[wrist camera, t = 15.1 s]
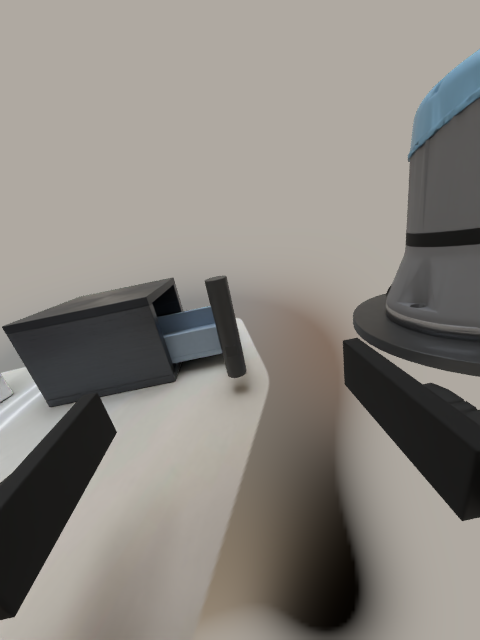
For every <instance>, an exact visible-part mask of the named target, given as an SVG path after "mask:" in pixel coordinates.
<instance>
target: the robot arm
mask: <svg viewBox="0 0 480 640" xmlns="http://www.w3.org/2000/svg"><path fill="white" fill-rule="evenodd" d="M408 162H410V174H409V194H408V214H407V230H406V248H405V254H404V257H403V259H402V262H401V264H400V266H399V269H398V271H397V274H396V276H395V278H394V281H393V283H392V285H391V286H390V287H389V289H388V291H387V293H386V296H387V300H386V315H387V317H388V318H389V319H390V320H391V321H393V322H394V323H396V324H398V325H400V326H402V327H405V328H407V329H410V330H413V331H416V332H420V333H424V334H428V335H432V336H437V337H443V338H449V339H456V340H465V341H475V342H480V49H479V50H478V51H476V52H475V53H474V54H472V55H471V56H470V57H468V58H467V59H466V60H464V61H463V62H462V63H461V64H459V65H458V66H457V67H455V68H454V69H453V70H452V71H451V72H450V73H448V74H447V75H446V76H445V77H444V78H443V79H442V80H441V81H440V82H439V83H438V84H437V85H435V86H434V88H433V89H432V90H431V91H430V92H429V93H428V94H427V96H426V97H425V98H424V100H423V101H422V103H421V104H420V106H419V108H418V110H417V112H416V115H415V118H414V124H413V132H412V141H411V150H410V153H409V155H408ZM387 294H388V295H387ZM386 296H385V297H386ZM343 354H344V378H345V385H346V386H347V387H348V389H349V390H350V391H351V392H352V393H353V394H354V396H355V397H356V398H357V399H358V400H359V401H360V403H361V404H362V405H363V406H364V407H365V408H366V410H367V411H368V412H369V413H370V414H371V415H372V417H373V418H374V419H375V420H376V421H377V422H378V423H379V425H380V426H381V427H382V428H383V429H384V431H385V432H386V433H387V434H388V435H389V436H390V438H391V439H392V440H393V441H394V442H395V443H396V445H397V446H398V447H399V448H400V449H401V450H402V452H403V453H404V454H405V455H406V456H407V457H408V459H409V460H410V461H411V462H412V463H413V464H414V466H415V467H416V468H417V469H418V470H419V471H420V473H421V474H422V475H423V476H424V477H425V478H426V480H427V481H428V482H429V483H430V484H431V485H432V487H433V488H434V489H435V490H436V491H437V492H438V494H439V495H440V496H441V497H442V498H443V499H444V500H445V502H446V503H447V504H448V505H449V506H450V508H451V509H452V510H453V511H454V512H455V513H456V515H457V516H458V517H459V518H460V519H461V520H462V521H464V520H469V519H473V518H479V517H480V410H477V409H476V407H474V406H473V405H471V404H470V403H468V402H467V401H466V402H465V401H464V399H462V398H461V397H459V396H457V395H456V394H455V393H453V392H451V391H450V390H448V389H446V388H443V387H441V386H438V385H436V384H433V383H428V384H421V383H420V382H418V381H417V380H416V379H414V378H413V377H411V376H410V375H409V374H407V373H406V372H404V371H403V370H402V369H400V368H399V367H397V366H396V365H395V364H393V363H392V362H390V361H389V360H387V359H386V358H385V357H383V356H382V355H381V354H379V353H378V352H376V351H375V350H373V349H372V348H371V347H369V346H368V345H367V344H365V343H364V342H362V341H361V340H360V339H358V338H354V339H349V340H344V341H343ZM116 433H117V432H116V429H115V427H114V425H113V423H112V421H111V419H110V417H109V415H108V413H107V411H106V409H105V407H104V405H103V403H102V401H101V399H100V397H99V395H98V393H92V394H87V395H83V396H82V397H81V398H80V399H79V400H78V401H77V402H76V403H75V404H74V406H73V407H72V408H71V409H70V410H69V411H68V412H67V413H66V414H65V415H64V417H63V418H62V419H61V420H60V421H59V422H58V423H57V424H56V425H55V426H54V428H53V429H52V430H51V431H50V432H49V433H48V434H47V435H46V436H45V437H44V439H43V440H42V441H41V442H40V443H39V444H38V445H37V446H36V447H35V448H34V450H33V451H32V452H31V453H30V454H29V455H28V456H27V457H26V458H25V459H24V461H23V462H22V463H21V464H20V465H19V466H18V467H17V468H16V469H15V470H14V472H13V473H12V474H11V475H9V476H8V477H7V478H6V479H4V480H3V481H2V482H1V483H0V620H3V619H7V618H12V617H15V615H16V614H17V612H18V610H19V608H20V606H21V605H22V603H23V601H24V599H25V597H26V596H27V594H28V592H29V590H30V588H31V587H32V585H33V583H34V581H35V579H36V578H37V576H38V574H39V572H40V570H41V569H42V567H43V565H44V563H45V561H46V559H47V558H48V556H49V554H50V552H51V550H52V549H53V547H54V545H55V543H56V541H57V540H58V538H59V536H60V534H61V532H62V531H63V529H64V527H65V525H66V523H67V522H68V520H69V518H70V516H71V514H72V513H73V511H74V509H75V507H76V505H77V504H78V502H79V500H80V498H81V496H82V494H83V493H84V491H85V489H86V487H87V485H88V484H89V482H90V480H91V478H92V476H93V475H94V473H95V471H96V469H97V467H98V466H99V464H100V462H101V460H102V458H103V457H104V455H105V453H106V451H107V449H108V448H109V446H110V444H111V442H112V440H113V439H114V437H115V435H116Z"/></svg>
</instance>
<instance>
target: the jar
mask: <svg viewBox="0 0 480 640" xmlns="http://www.w3.org/2000/svg"><path fill="white" fill-rule="evenodd" d="M12 394H13V392H12V390H11V389H10V387H9V386H8V384H7V383H6V381H5V380H4V378H3V376H2V375H1V373H0V402H2V401H3V400H5V399H6V398H8V397H9V396H11V395H12Z"/></svg>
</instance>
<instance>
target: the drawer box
mask: <svg viewBox="0 0 480 640" xmlns="http://www.w3.org/2000/svg"><path fill="white" fill-rule="evenodd" d="M178 312H183V309H182V305H181V302H180V298H179V295H178V292H177V288H176V285H175V281H174V278H169V279H164V280H159V281H154V282H149V283H145V284H139V285H135V286H130V287H125V288H120V289H115V290H111V291H106V292H101V293H96V294H92V295H86V296H81V297H78V298H75V299H73V300H70V301H68V302H65V303H62V304H60V305H57V306H55V307H52V308H49V309H47V310H44V311H42V312H39V313H36V314H34V315H31V316H28V317H26V318H23V319H21V320H18V321H15V322H13V323H10V324H8V325H5V326H3V327H2V328H3V330H4V331H5V333H6V334H7V336H8V338H9V339H10V341H11V342H12V344H13V346H14V348H15V349H16V351H17V353H18V354H19V356H20V358H21V359H22V361H23V363H24V364H25V366H26V368H27V370H28V371H29V373H30V375H31V376H32V378H33V380H34V381H35V383H36V385H37V386H38V388H39V390H40V392H41V393H42V395H43V397H44V398H45V400H47V401H46V402H47V403H48V405H49V407H53V406H58V405H62V404H67V403H72V402H77V401H78V400H79V399H80V398H81V397H82V396H83V395H87V394H92V393H98V395H99V397H101V396H106V395H111V394H116V393H121V392H125V391H130V390H135V389H140V388H145V387H150V386H154V385H159V384H164V383H169V382H174V381H175V380H176V377H177V374H178V372H179V369H180V366H181V363H182V362H178V363H172V360H171V357H170V354H169V351H168V348H167V345H166V342H165V339H164V336H163V333H162V330H161V327H160V325H159V322H158V319H157V317H159V316H164V315H169V314H174V313H178Z"/></svg>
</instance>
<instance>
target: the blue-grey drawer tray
mask: <svg viewBox="0 0 480 640" xmlns="http://www.w3.org/2000/svg"><path fill="white" fill-rule="evenodd" d="M205 284H206V288H207V293H208V297H209V301H210V304H211V306H207V307H203V308H198V309H193V310H188V311H183V312H178V313H174V314H169V315H164V316H159V317H157V319H158V322H159V325H160V327H161V330H162V333H163V336H164V339H165V342H166V345H167V348H168V351H169V354H170V357H171V360H172V363H178V362H183V361H187V360H192V359H197V358H202V357H207V356H212V355H217V354H221V353H223V357H224V361H225V365H226V369H227V373H228V376H229V377H231V378H238V377H241V376H243V375H244V374H245V373H246V366H245V361H244V356H243V352H242V347H241V342H240V338H239V333H238V328H237V324H236V319H235V314H234V310H233V305H232V301H231V295H230V291H229V286H228V282H227V277H226V276H217V277H213V278H209V279H207V280H205Z"/></svg>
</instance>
